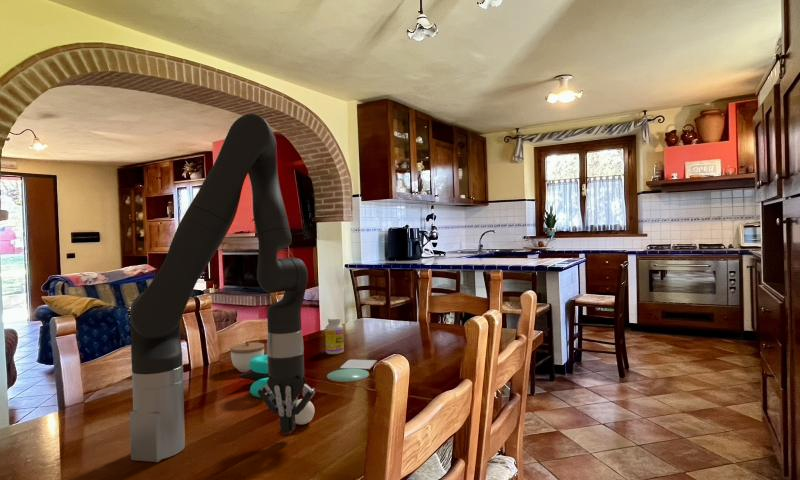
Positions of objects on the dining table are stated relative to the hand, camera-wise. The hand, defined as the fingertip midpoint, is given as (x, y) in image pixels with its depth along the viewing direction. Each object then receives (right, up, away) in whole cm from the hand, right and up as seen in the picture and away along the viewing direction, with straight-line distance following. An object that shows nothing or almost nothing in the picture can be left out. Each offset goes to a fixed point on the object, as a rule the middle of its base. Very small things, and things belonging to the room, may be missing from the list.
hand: (288, 432), depth 99 cm
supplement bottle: (0, -1, +74) cm, 74 cm away
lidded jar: (-26, -2, +54) cm, 61 cm away
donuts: (-13, -2, +30) cm, 33 cm away
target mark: (+8, -1, +45) cm, 45 cm away
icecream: (-17, -2, +39) cm, 43 cm away
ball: (+1, +1, +8) cm, 8 cm away
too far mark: (+10, -1, +57) cm, 57 cm away
